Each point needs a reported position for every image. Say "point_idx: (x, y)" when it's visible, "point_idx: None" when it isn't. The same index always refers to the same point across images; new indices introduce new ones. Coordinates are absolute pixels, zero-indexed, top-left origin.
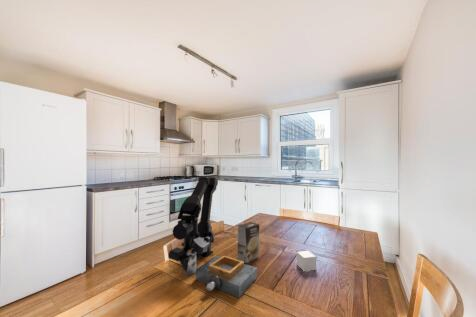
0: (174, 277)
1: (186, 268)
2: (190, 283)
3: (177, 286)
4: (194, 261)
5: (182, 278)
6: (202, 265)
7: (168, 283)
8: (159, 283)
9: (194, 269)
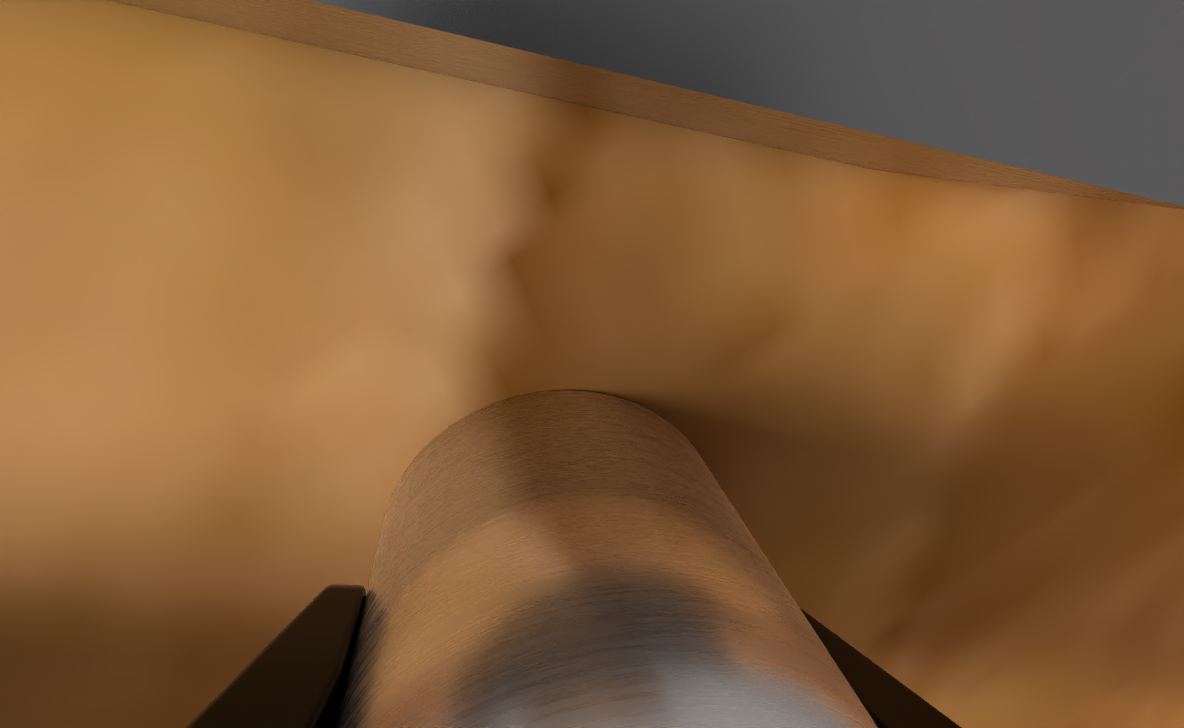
0: (877, 661)
1: (849, 658)
2: (1051, 204)
3: (1166, 412)
4: (744, 715)
5: (881, 509)
6: (733, 50)
7: (1075, 616)
8: (1081, 724)
9: (620, 451)
